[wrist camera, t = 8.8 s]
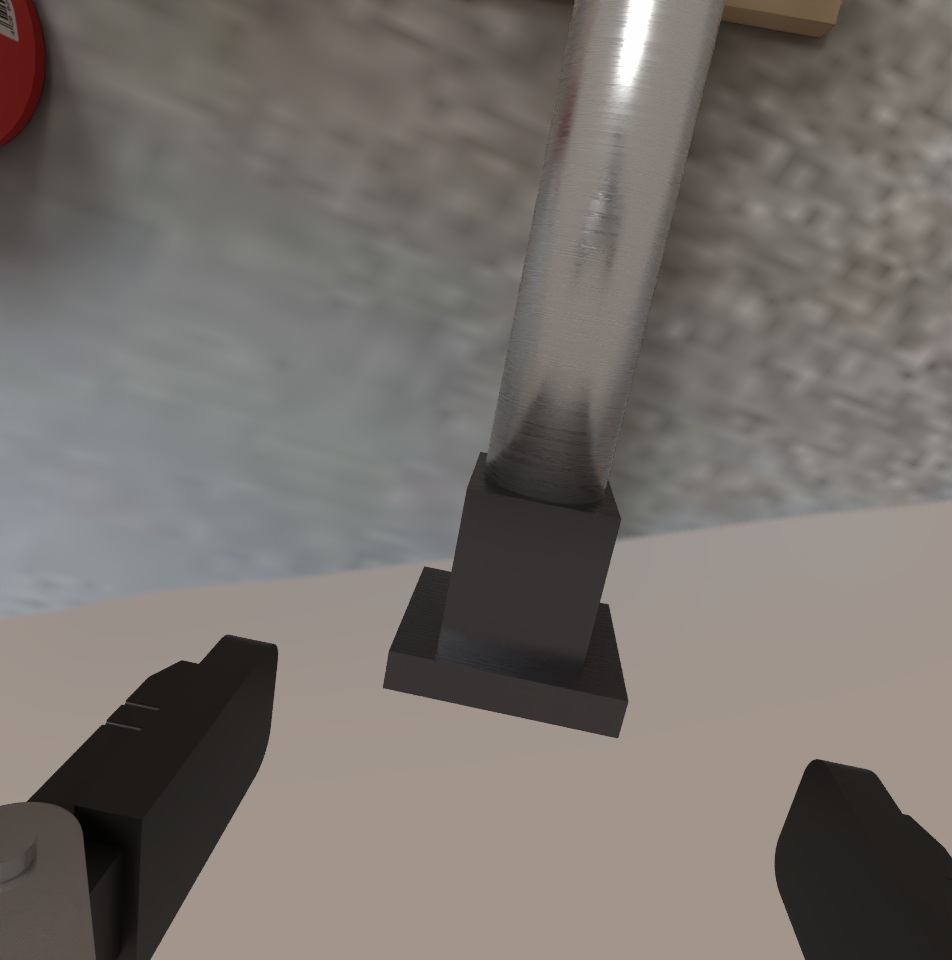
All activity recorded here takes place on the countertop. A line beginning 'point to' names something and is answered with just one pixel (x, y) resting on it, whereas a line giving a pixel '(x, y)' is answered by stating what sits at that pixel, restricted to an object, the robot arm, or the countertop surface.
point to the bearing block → (784, 15)
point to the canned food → (19, 65)
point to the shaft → (567, 385)
